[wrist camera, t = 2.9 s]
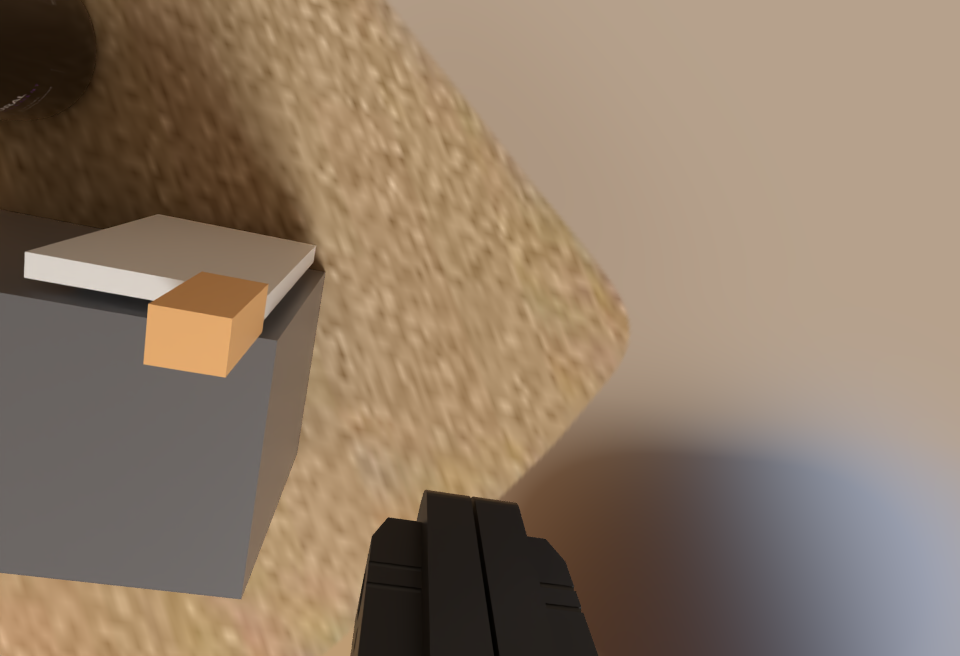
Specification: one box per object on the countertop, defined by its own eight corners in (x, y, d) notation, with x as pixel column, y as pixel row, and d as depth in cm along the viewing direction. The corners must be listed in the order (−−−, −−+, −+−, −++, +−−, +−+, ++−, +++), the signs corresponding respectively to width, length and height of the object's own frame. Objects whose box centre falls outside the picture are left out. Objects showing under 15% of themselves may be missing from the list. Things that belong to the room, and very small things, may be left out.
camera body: (-49, 193, 28) (-365, 228, 17) (326, 266, 30) (273, 339, 19) (-48, 403, 30) (-320, 556, 19) (296, 453, 33) (235, 615, 22)
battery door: (159, 205, 28) (-78, 264, 15) (317, 236, 29) (232, 318, 16) (156, 240, 28) (-77, 328, 15) (312, 270, 29) (225, 377, 16)
